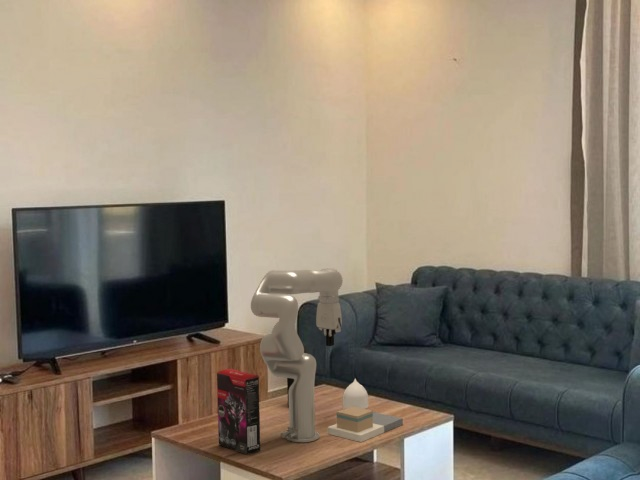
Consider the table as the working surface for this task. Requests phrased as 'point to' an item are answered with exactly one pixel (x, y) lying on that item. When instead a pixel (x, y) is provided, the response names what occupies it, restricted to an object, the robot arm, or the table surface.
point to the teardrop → (355, 396)
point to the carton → (354, 419)
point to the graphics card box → (238, 411)
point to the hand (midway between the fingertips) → (330, 345)
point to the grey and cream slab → (379, 426)
